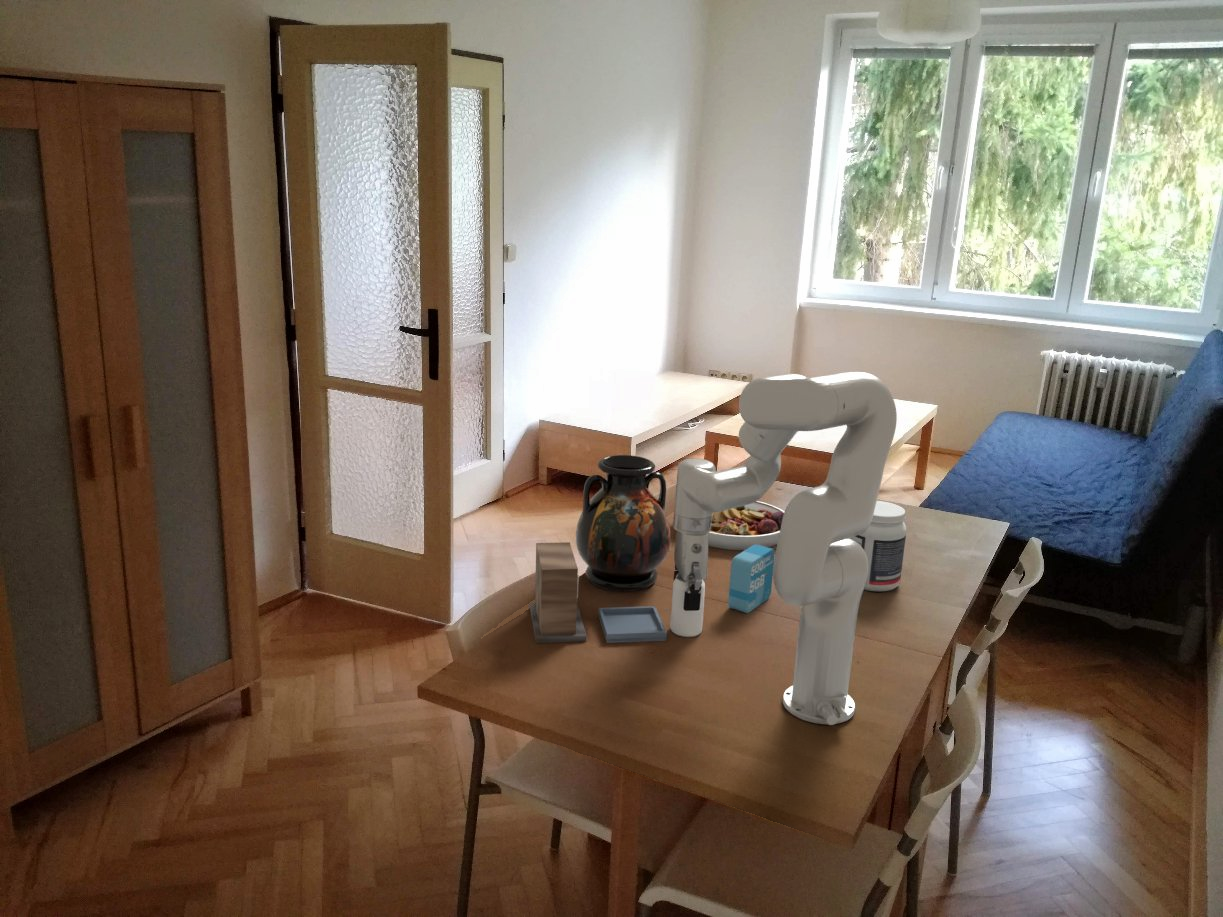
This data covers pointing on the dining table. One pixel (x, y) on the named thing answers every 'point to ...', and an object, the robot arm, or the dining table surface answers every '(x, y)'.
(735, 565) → the data package
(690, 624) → the can
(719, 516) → the bowl
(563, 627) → the block
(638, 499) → the amphora vase
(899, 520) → the supplement tub
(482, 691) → the dining table surface
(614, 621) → the tray
